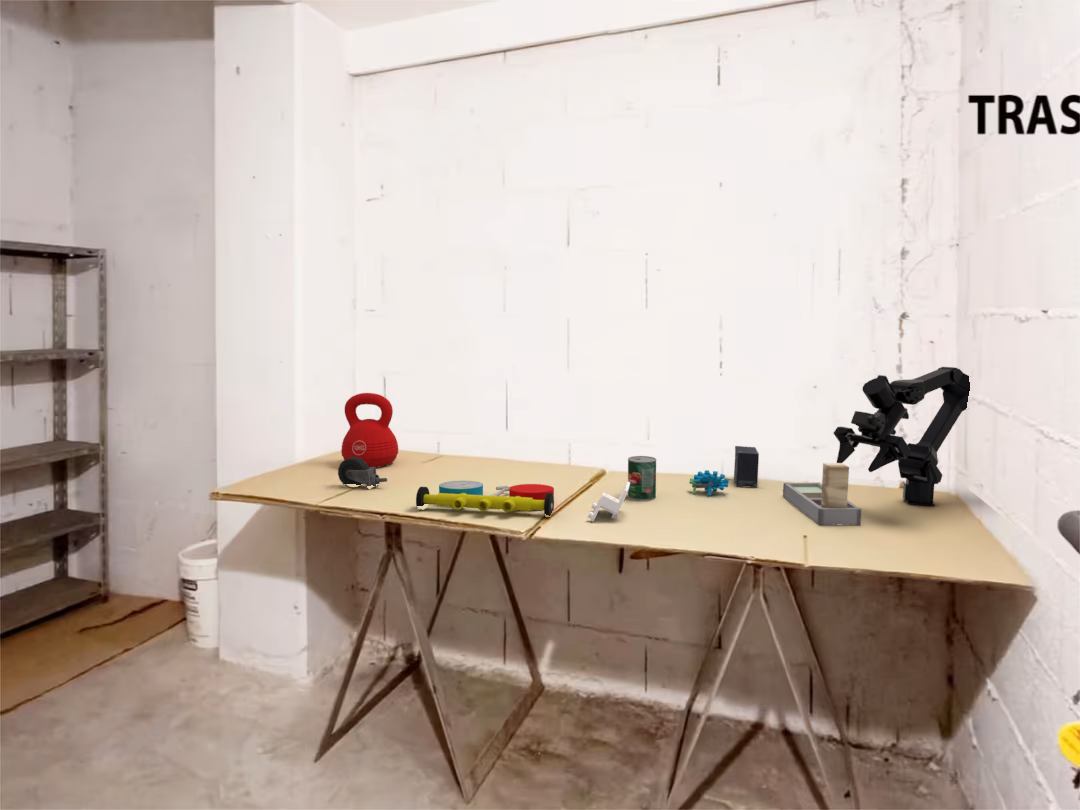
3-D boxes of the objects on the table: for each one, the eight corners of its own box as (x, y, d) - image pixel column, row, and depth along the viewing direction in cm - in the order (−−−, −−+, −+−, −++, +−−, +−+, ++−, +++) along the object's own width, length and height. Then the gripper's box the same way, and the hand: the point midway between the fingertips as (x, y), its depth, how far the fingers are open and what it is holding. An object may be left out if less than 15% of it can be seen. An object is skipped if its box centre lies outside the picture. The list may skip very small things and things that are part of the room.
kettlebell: (332, 470, 230) (328, 395, 227) (355, 458, 248) (352, 389, 245) (386, 471, 227) (384, 396, 223) (406, 459, 245) (404, 390, 242)
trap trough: (783, 496, 193) (783, 482, 193) (818, 496, 193) (819, 482, 193) (819, 525, 167) (819, 509, 167) (860, 525, 167) (861, 509, 167)
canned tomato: (661, 496, 194) (662, 458, 193) (645, 502, 188) (645, 463, 187) (638, 491, 200) (638, 454, 198) (621, 497, 194) (622, 459, 192)
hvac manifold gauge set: (413, 490, 179) (445, 473, 203) (413, 514, 179) (446, 495, 204) (548, 497, 171) (565, 479, 196) (548, 522, 172) (565, 501, 196)
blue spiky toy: (733, 486, 198) (724, 467, 191) (731, 504, 195) (722, 485, 188) (695, 487, 203) (685, 469, 197) (693, 505, 200) (683, 486, 193)
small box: (758, 488, 203) (759, 453, 202) (735, 487, 204) (736, 452, 203) (754, 479, 213) (756, 446, 212) (733, 478, 215) (734, 445, 213)
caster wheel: (337, 491, 206) (383, 489, 202) (332, 460, 205) (378, 457, 201) (346, 487, 211) (391, 484, 208) (342, 456, 210) (387, 453, 207)
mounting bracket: (609, 531, 170) (627, 493, 168) (586, 520, 171) (604, 482, 169) (613, 517, 182) (630, 481, 180) (591, 506, 183) (608, 471, 180)
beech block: (821, 505, 173) (823, 463, 172) (838, 505, 173) (841, 463, 172) (828, 511, 169) (830, 467, 167) (846, 511, 169) (849, 467, 167)
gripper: (840, 395, 181) (808, 440, 177) (906, 404, 165) (872, 453, 161) (858, 423, 186) (828, 467, 182) (924, 433, 169) (892, 482, 166)
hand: (853, 467), depth 173 cm, fingers open, 9 cm apart
